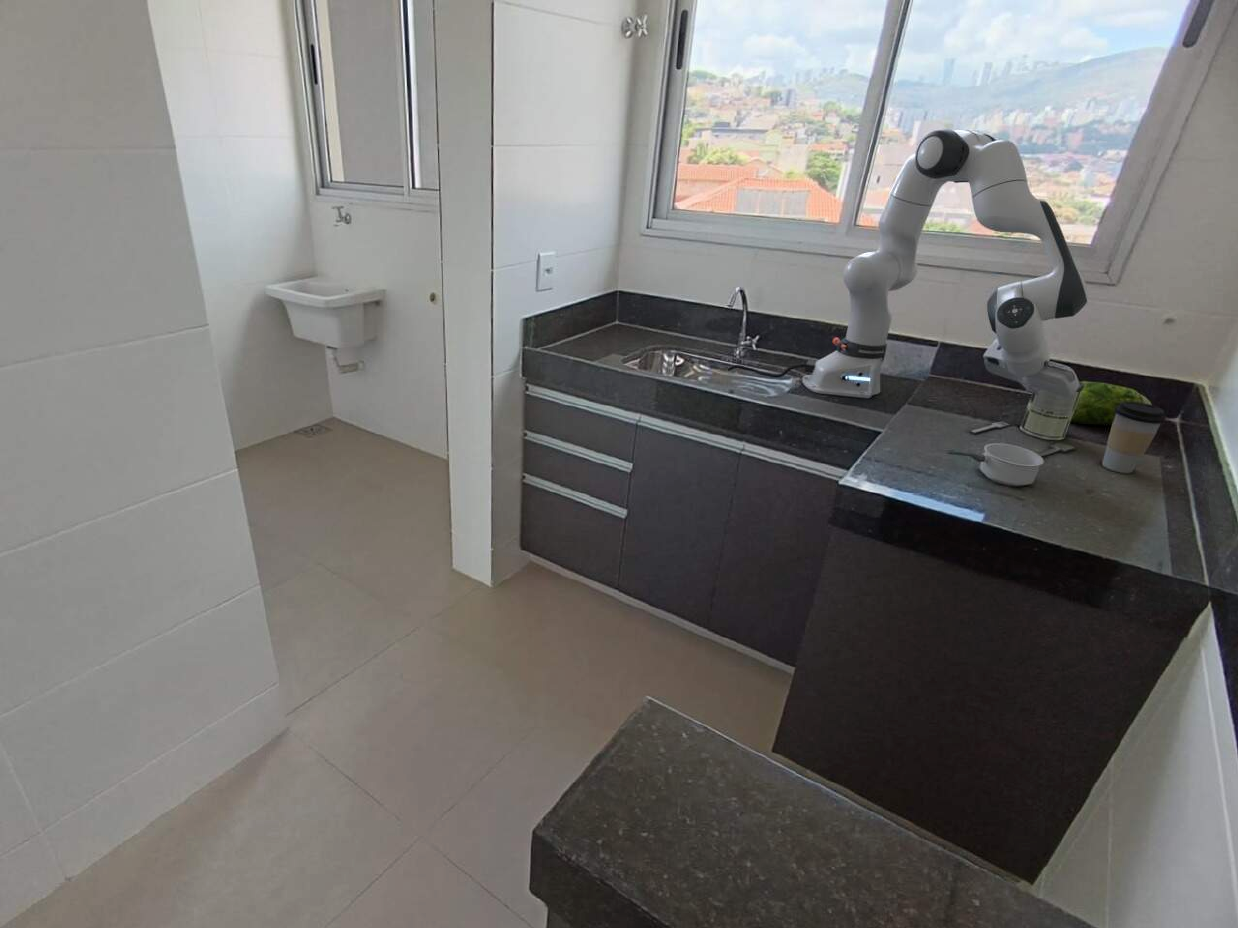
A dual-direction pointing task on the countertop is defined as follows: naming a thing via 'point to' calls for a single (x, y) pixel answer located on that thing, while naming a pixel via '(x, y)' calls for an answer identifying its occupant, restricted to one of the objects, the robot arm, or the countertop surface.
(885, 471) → the countertop surface
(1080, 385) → the coffee can
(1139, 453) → the coffee cup
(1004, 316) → the robot arm
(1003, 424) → the fork
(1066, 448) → the spoon
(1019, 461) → the saucepan
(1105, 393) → the green oval lump
